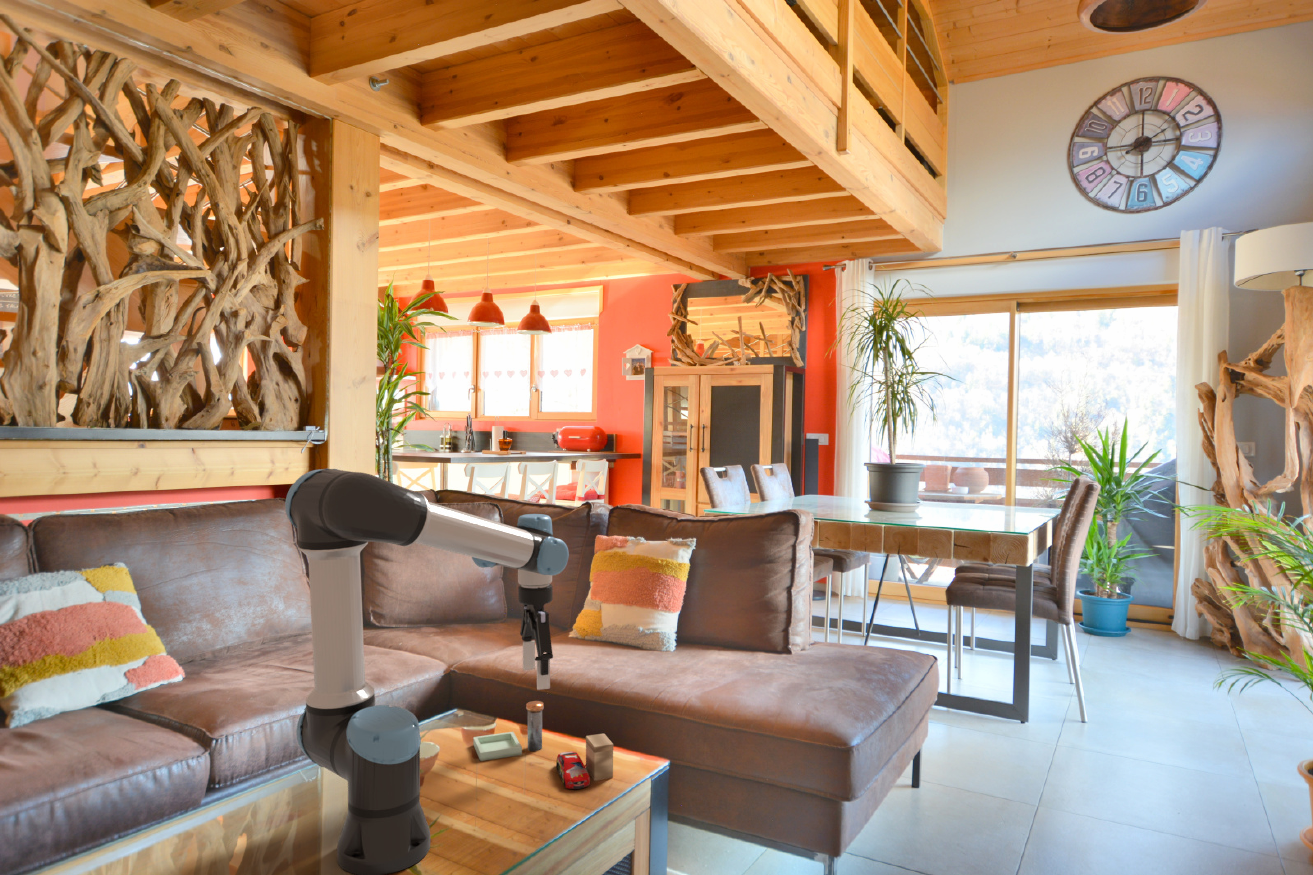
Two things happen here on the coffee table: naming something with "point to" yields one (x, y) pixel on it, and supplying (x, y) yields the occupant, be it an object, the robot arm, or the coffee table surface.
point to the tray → (497, 746)
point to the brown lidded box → (599, 756)
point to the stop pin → (535, 725)
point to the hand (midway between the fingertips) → (535, 678)
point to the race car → (572, 770)
